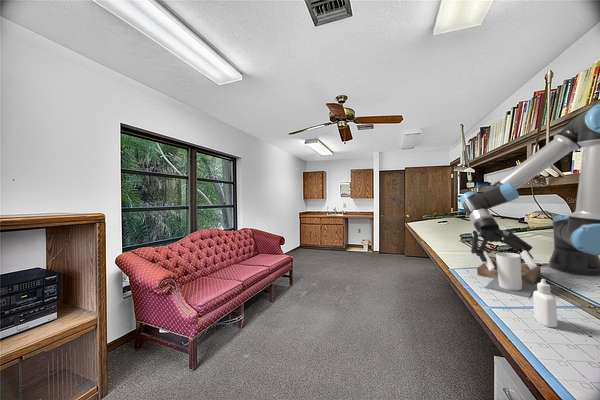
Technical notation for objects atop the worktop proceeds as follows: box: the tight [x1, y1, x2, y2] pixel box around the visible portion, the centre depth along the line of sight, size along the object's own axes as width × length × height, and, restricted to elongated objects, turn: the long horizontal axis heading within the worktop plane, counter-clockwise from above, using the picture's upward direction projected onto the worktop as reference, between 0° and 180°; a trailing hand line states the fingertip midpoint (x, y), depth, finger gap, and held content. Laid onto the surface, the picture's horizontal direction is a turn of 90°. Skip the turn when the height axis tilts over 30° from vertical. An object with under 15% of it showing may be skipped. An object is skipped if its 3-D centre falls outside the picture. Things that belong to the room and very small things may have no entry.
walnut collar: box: [476, 258, 542, 286], centre depth 98 cm, size 17×17×3 cm
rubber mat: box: [484, 278, 537, 299], centre depth 86 cm, size 12×12×1 cm
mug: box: [495, 252, 522, 291], centre depth 86 cm, size 10×7×12 cm, turn 128°
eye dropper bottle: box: [532, 278, 558, 328], centre depth 64 cm, size 4×6×12 cm
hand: (512, 268), depth 84 cm, fingers open, 13 cm apart
